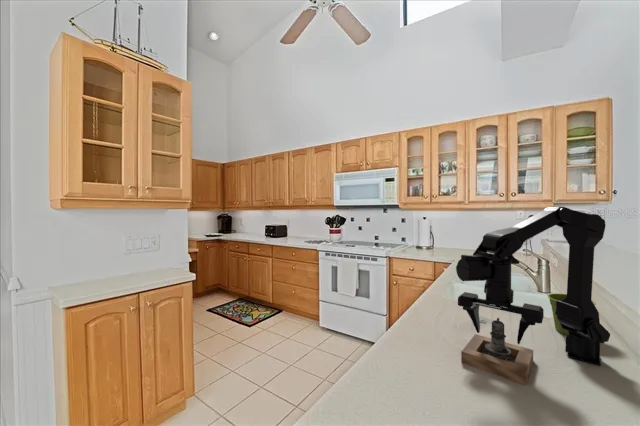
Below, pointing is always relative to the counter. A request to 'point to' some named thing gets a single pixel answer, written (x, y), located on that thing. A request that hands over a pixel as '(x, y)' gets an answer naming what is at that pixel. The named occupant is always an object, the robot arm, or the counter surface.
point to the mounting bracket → (485, 320)
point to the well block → (498, 360)
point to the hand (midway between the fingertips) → (497, 337)
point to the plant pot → (553, 300)
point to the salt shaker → (498, 342)
